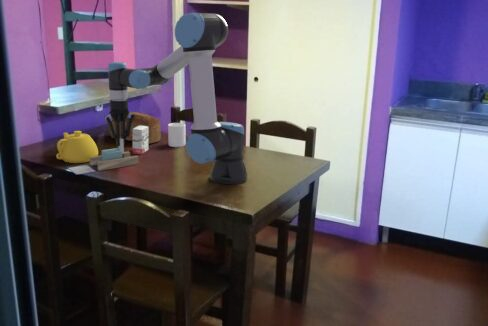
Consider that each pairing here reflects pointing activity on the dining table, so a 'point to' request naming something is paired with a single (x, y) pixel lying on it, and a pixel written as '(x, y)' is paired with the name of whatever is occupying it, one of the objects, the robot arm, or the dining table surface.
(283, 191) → the dining table surface
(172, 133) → the mug
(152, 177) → the dining table surface
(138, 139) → the ink box
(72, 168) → the pad
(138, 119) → the bread
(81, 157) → the teapot
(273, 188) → the dining table surface
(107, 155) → the block
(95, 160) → the chute
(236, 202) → the dining table surface
